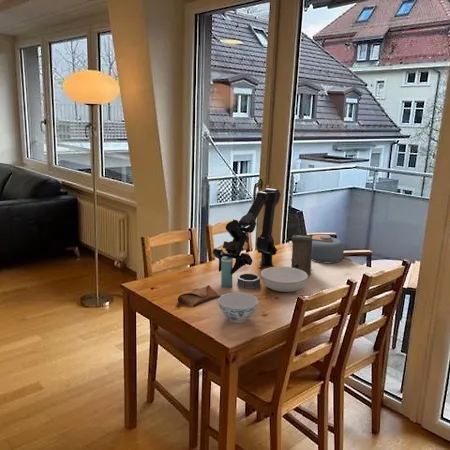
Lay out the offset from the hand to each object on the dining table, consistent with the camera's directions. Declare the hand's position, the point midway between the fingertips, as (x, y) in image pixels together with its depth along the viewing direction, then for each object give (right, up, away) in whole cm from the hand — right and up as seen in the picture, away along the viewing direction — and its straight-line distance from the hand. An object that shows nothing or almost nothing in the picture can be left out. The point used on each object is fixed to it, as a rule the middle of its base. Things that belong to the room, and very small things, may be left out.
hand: (225, 272), depth 203 cm
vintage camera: (+37, -2, +23) cm, 44 cm away
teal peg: (+1, -6, +3) cm, 7 cm away
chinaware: (+5, -15, -30) cm, 34 cm away
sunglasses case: (-11, -11, -12) cm, 19 cm away
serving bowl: (+26, -7, +1) cm, 27 cm away
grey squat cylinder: (+54, +3, +44) cm, 70 cm away
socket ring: (+11, -6, +5) cm, 13 cm away
